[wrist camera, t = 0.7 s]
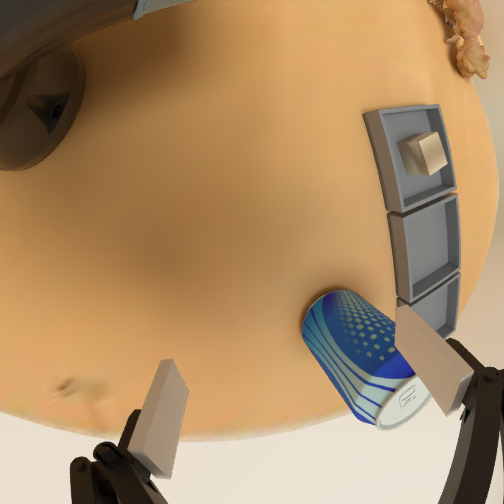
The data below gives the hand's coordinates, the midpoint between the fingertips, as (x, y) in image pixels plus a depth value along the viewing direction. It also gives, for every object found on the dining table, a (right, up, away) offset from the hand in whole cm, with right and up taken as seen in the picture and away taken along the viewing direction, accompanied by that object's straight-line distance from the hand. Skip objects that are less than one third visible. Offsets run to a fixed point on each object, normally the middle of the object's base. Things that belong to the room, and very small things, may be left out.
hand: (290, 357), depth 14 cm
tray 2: (+25, -4, +21) cm, 33 cm away
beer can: (+7, -2, +17) cm, 19 cm away
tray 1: (+17, +18, +14) cm, 29 cm away
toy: (+31, +44, +10) cm, 55 cm away
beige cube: (+17, +18, +13) cm, 28 cm away
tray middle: (+21, +7, +18) cm, 28 cm away
